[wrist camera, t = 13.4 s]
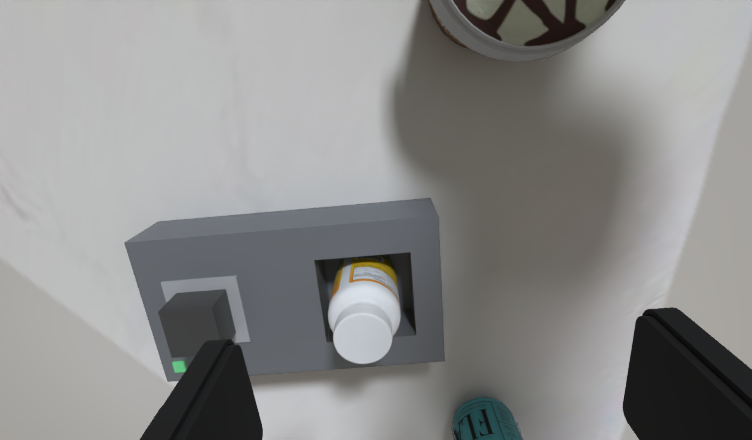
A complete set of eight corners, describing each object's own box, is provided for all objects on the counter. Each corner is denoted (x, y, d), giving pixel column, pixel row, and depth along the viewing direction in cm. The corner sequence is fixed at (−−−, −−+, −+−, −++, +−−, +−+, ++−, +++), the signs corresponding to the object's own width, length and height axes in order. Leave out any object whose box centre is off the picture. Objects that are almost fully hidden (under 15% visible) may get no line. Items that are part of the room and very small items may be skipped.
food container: (383, 34, 31) (387, 12, 21) (412, -54, 29) (430, -123, 19) (530, 90, 32) (595, 92, 22) (566, 8, 30) (653, -27, 21)
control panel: (429, 198, 35) (444, 229, 27) (436, 327, 39) (450, 386, 31) (158, 221, 35) (98, 258, 28) (192, 346, 40) (148, 407, 32)
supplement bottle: (358, 311, 37) (352, 386, 28) (324, 267, 36) (305, 330, 26) (408, 283, 36) (418, 350, 27) (375, 236, 35) (374, 289, 26)
